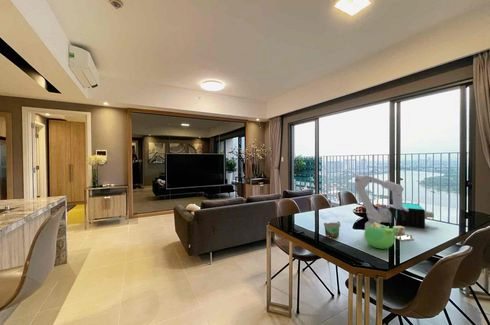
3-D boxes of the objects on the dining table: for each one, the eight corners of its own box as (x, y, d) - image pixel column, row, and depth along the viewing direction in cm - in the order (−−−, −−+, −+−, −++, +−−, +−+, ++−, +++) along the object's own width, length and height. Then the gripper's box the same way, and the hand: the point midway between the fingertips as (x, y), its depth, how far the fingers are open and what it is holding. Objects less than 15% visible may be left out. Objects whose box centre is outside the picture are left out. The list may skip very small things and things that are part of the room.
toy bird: (369, 240, 145) (368, 218, 145) (399, 246, 133) (399, 223, 133) (361, 248, 132) (360, 224, 132) (394, 256, 120) (393, 230, 120)
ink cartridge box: (389, 221, 189) (388, 204, 189) (392, 222, 183) (391, 205, 183) (376, 220, 191) (376, 204, 191) (379, 222, 185) (379, 205, 185)
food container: (329, 239, 146) (329, 225, 146) (323, 236, 152) (323, 222, 152) (344, 237, 149) (344, 223, 149) (338, 234, 155) (338, 221, 155)
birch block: (397, 234, 154) (397, 228, 154) (392, 233, 158) (392, 226, 158) (404, 234, 155) (404, 227, 155) (399, 232, 159) (399, 225, 159)
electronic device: (437, 230, 162) (436, 210, 162) (396, 225, 175) (396, 207, 175) (429, 222, 184) (429, 204, 184) (394, 218, 197) (394, 202, 197)
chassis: (401, 241, 142) (401, 237, 142) (393, 237, 148) (393, 234, 148) (414, 239, 144) (414, 236, 144) (405, 236, 150) (405, 233, 150)
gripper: (411, 201, 150) (412, 220, 150) (393, 198, 164) (394, 215, 165) (403, 202, 149) (404, 222, 149) (385, 199, 163) (386, 217, 163)
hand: (398, 218), depth 157 cm, fingers open, 7 cm apart
